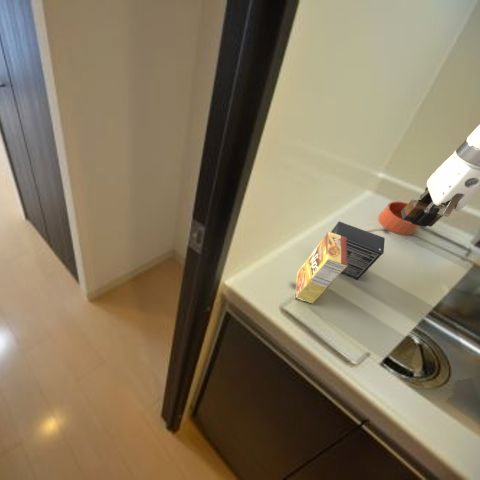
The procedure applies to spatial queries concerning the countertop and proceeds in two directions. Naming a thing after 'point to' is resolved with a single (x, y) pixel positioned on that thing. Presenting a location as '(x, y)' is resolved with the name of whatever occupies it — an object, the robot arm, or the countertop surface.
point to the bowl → (396, 219)
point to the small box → (359, 249)
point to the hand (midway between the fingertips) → (416, 218)
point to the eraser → (417, 211)
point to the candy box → (322, 267)
